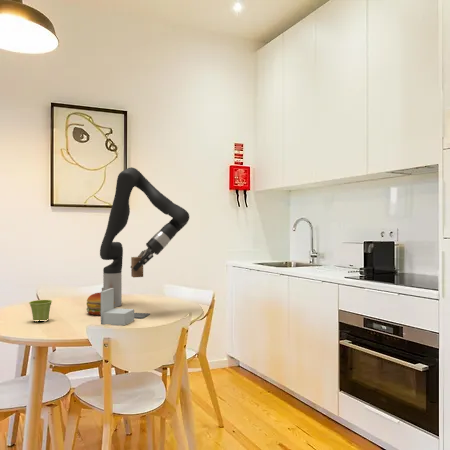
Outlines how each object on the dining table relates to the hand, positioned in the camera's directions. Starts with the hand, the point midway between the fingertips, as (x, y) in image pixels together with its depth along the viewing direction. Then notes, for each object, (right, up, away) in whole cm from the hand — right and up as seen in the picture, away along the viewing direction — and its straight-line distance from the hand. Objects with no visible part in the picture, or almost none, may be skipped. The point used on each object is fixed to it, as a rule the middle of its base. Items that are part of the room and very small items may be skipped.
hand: (133, 269), depth 207 cm
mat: (+2, -22, +1) cm, 22 cm away
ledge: (-4, -22, -12) cm, 25 cm away
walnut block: (+2, -4, +1) cm, 4 cm away
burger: (-17, -22, +7) cm, 29 cm away
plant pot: (-39, -22, -10) cm, 46 cm away
